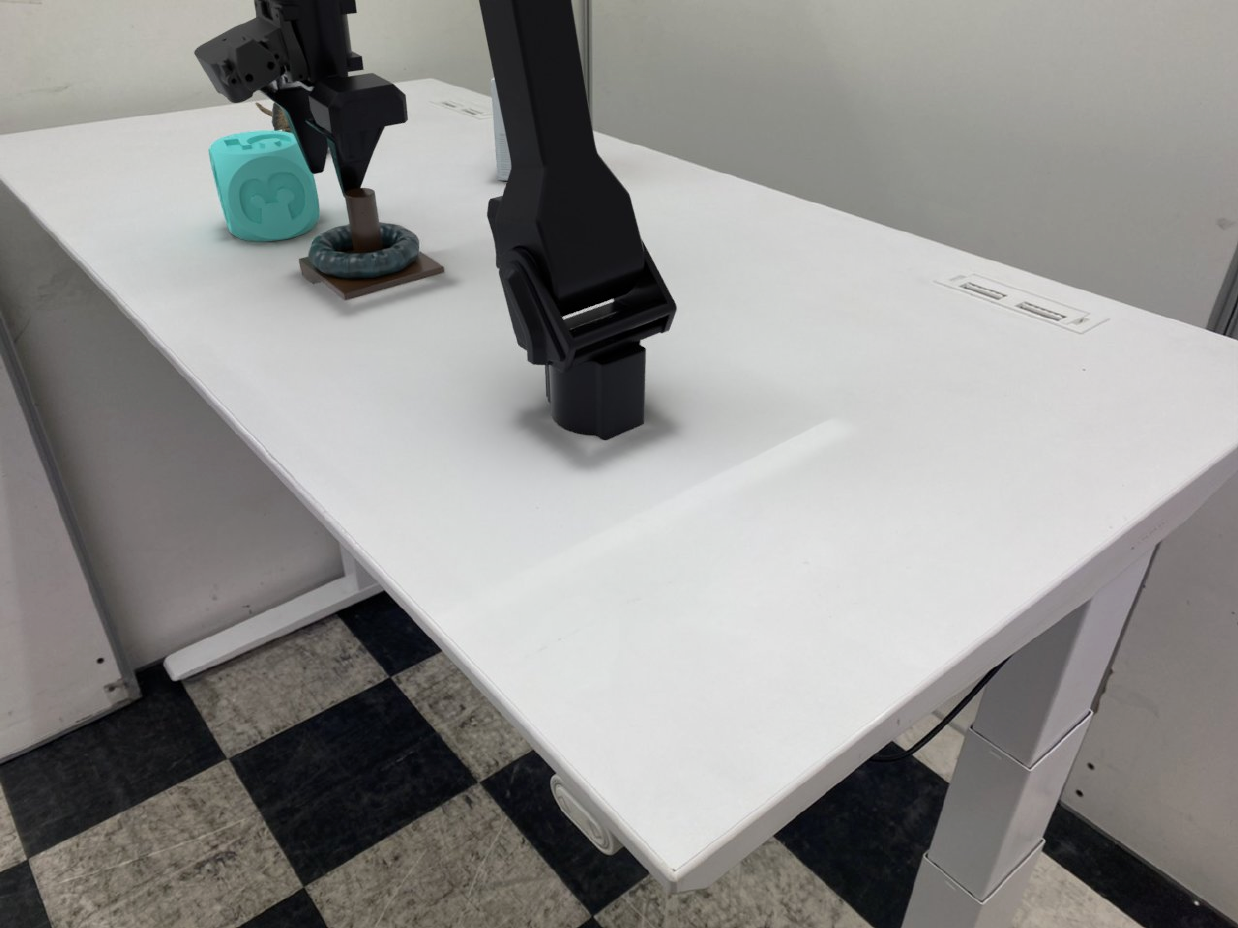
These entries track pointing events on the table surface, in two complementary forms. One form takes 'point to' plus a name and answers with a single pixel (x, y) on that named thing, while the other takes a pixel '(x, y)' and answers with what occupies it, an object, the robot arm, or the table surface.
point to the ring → (364, 265)
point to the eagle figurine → (277, 118)
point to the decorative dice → (264, 185)
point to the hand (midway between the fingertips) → (333, 185)
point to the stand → (368, 241)
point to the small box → (500, 138)
